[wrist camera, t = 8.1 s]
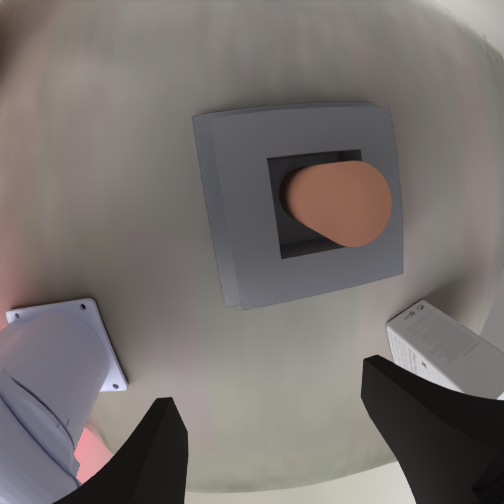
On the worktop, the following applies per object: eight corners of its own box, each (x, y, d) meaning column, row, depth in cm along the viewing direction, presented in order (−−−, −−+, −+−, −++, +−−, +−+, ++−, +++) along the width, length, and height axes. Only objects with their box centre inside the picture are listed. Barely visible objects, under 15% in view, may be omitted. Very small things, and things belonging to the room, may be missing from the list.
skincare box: (383, 323, 22) (479, 414, 10) (423, 295, 22) (527, 364, 10) (395, 371, 23) (469, 455, 12) (432, 345, 23) (512, 415, 12)
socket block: (225, 302, 19) (228, 329, 16) (193, 119, 16) (187, 103, 13) (385, 268, 20) (414, 284, 17) (369, 104, 17) (398, 92, 14)
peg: (285, 227, 18) (324, 256, 11) (272, 173, 17) (306, 169, 10) (336, 214, 18) (396, 235, 11) (325, 162, 17) (383, 154, 10)
